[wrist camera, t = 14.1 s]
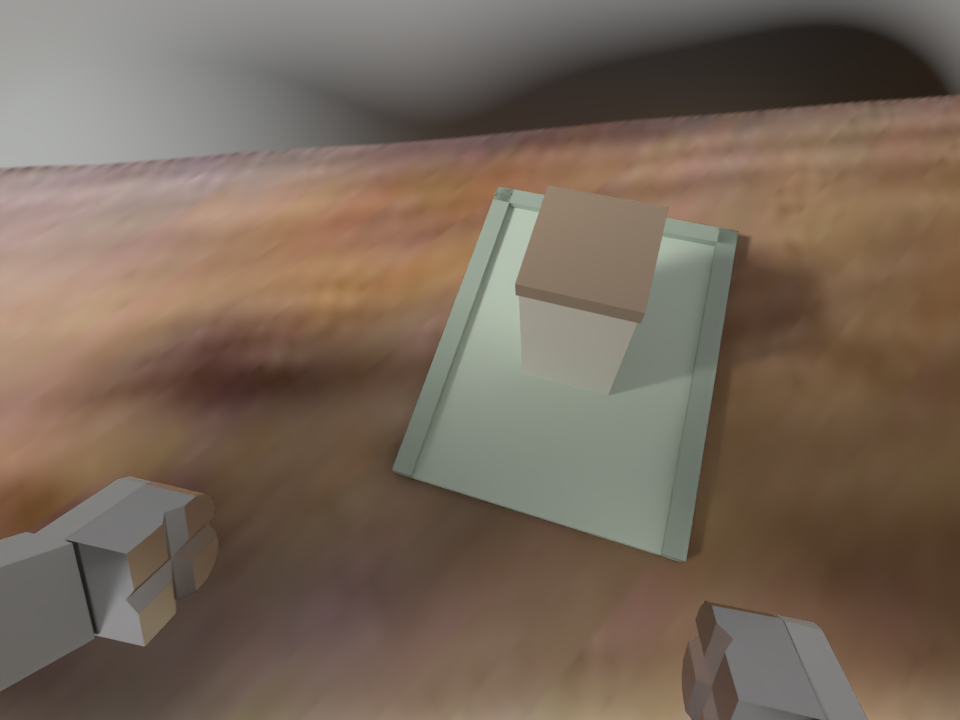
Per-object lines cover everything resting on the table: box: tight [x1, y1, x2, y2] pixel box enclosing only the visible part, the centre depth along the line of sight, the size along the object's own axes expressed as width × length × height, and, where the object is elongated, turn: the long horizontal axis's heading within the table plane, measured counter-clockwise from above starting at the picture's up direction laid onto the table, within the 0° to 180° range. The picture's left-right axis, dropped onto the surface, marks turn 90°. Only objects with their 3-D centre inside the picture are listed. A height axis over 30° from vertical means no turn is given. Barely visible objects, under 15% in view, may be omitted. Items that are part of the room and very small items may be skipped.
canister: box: [515, 185, 669, 395], centre depth 23 cm, size 5×5×9 cm
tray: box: [392, 187, 738, 562], centre depth 28 cm, size 14×18×1 cm
